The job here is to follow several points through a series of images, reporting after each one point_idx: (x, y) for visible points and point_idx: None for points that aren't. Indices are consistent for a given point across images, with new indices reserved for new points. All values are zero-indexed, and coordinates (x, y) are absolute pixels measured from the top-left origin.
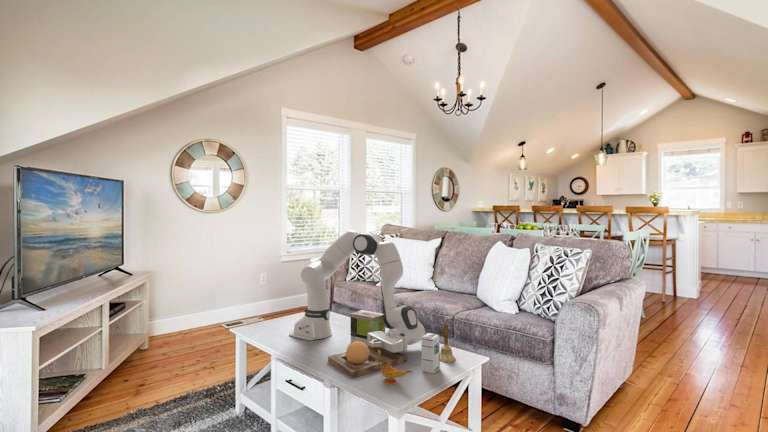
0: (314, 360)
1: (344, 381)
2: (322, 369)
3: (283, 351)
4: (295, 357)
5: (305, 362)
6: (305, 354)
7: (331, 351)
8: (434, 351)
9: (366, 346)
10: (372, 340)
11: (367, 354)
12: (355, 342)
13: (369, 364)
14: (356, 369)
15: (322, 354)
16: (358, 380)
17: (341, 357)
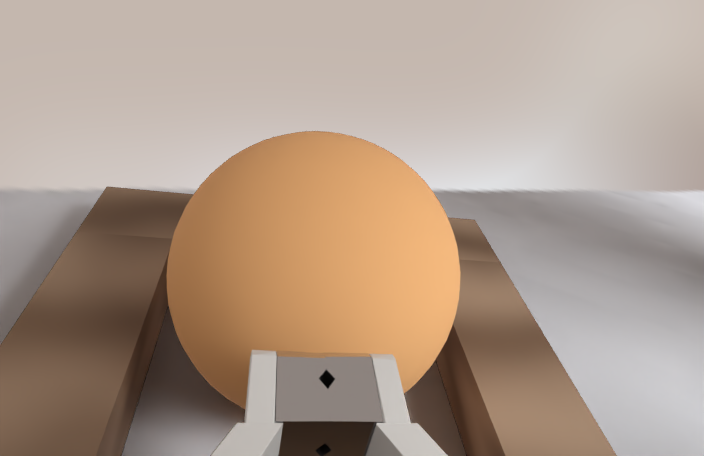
0: (516, 226)
1: None
2: None
3: (672, 200)
4: (580, 198)
5: (498, 196)
6: (623, 234)
7: (690, 354)
8: None
9: (234, 244)
10: (434, 447)
11: (171, 300)
12: (337, 135)
13: (79, 331)
14: (112, 216)
15: (618, 287)
16: (41, 233)
17: None
